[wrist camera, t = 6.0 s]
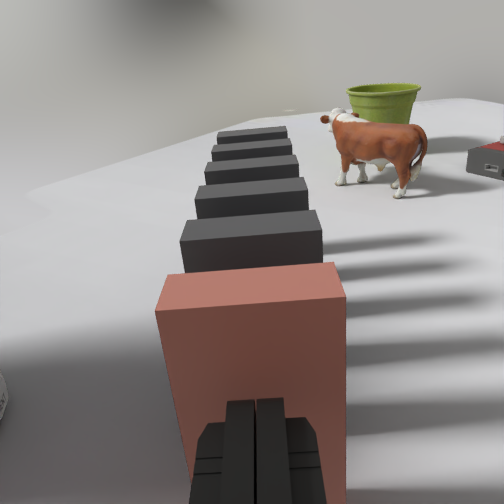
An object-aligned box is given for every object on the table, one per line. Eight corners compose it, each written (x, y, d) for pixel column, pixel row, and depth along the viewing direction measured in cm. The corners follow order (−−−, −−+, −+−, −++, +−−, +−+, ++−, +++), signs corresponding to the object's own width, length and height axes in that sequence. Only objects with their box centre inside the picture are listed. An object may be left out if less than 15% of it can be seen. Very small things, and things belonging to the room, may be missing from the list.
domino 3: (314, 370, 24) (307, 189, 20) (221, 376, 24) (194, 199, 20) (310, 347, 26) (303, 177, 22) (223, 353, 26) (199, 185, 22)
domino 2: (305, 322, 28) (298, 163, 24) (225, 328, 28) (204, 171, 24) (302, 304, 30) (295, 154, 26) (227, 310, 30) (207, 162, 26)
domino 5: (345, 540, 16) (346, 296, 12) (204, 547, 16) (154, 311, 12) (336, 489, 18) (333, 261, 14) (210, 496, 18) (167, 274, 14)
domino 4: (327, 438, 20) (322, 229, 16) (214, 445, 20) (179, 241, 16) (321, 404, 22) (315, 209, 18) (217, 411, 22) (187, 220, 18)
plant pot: (395, 142, 68) (398, 80, 64) (430, 155, 60) (435, 86, 56) (336, 150, 67) (335, 88, 63) (362, 165, 58) (364, 94, 55)
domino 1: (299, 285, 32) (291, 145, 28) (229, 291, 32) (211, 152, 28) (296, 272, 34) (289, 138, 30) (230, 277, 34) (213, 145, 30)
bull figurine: (337, 171, 57) (337, 104, 54) (432, 193, 47) (438, 112, 43) (311, 179, 55) (309, 110, 51) (404, 204, 45) (409, 119, 41)
